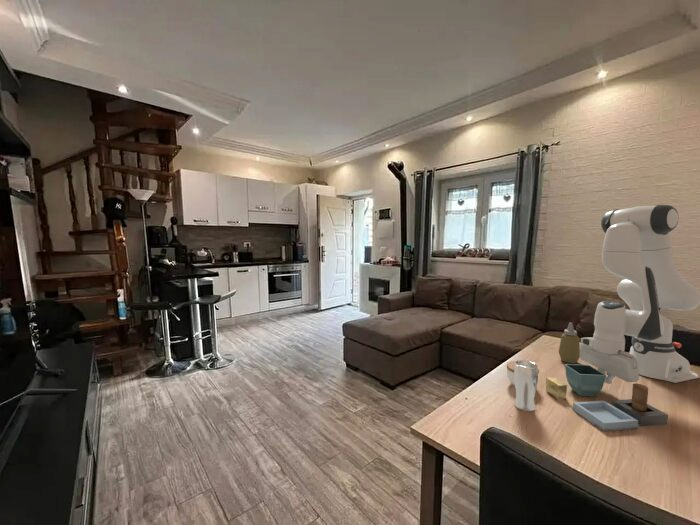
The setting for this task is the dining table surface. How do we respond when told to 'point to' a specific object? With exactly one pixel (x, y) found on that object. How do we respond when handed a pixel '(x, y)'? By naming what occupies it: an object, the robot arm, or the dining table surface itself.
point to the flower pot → (584, 379)
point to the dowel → (639, 397)
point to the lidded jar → (512, 371)
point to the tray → (605, 415)
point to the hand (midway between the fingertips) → (605, 382)
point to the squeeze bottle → (569, 345)
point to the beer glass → (525, 384)
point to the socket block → (642, 413)
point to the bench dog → (556, 388)
